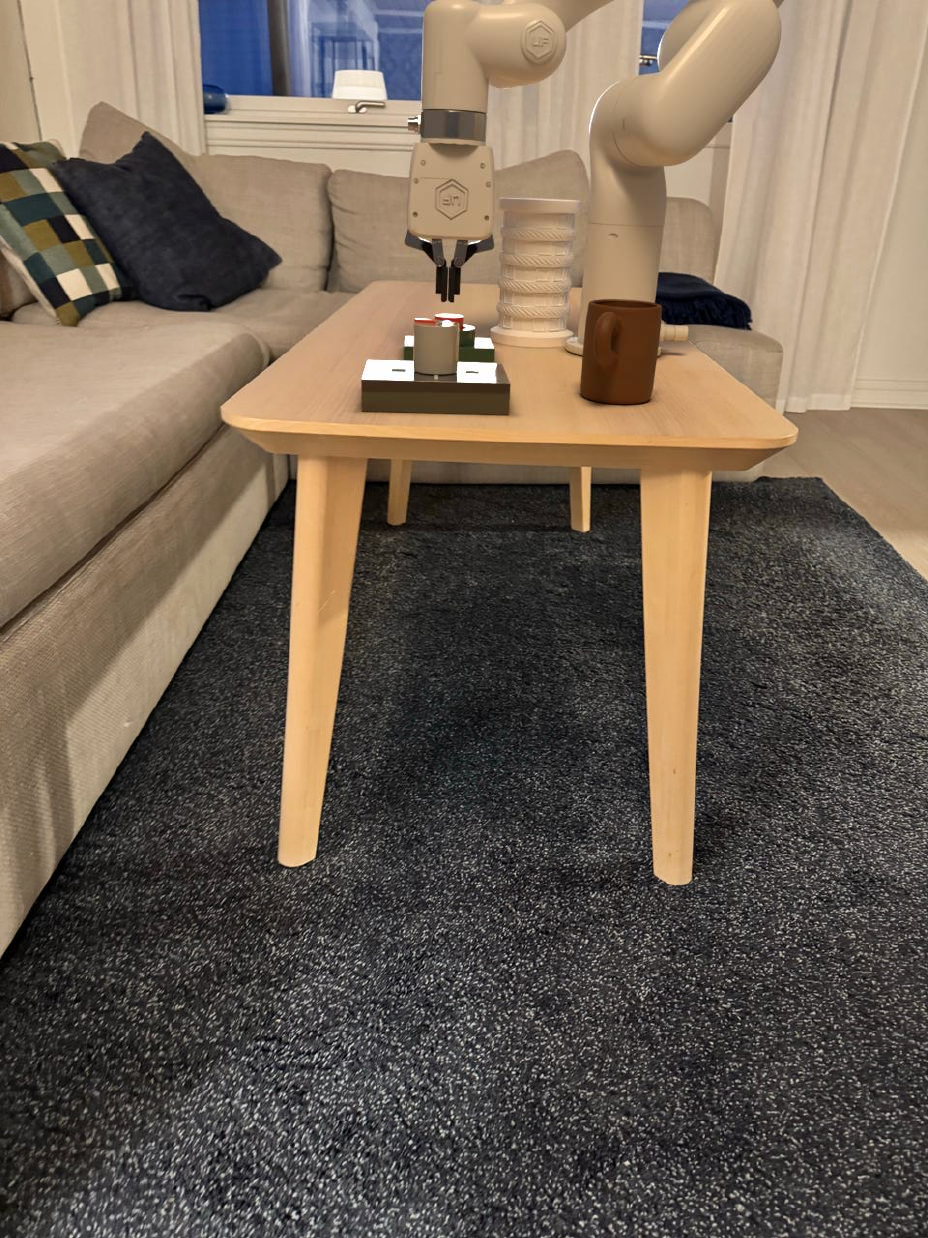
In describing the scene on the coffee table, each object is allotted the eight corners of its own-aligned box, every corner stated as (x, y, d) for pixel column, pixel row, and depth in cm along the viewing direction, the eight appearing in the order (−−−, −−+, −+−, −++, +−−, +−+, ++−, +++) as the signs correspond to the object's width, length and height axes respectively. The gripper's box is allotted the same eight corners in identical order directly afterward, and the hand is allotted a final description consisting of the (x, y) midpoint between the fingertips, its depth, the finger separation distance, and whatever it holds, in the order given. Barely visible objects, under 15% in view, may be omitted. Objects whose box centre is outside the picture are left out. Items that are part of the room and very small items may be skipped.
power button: (462, 328, 114) (463, 314, 114) (464, 332, 111) (464, 318, 110) (434, 327, 114) (434, 313, 113) (434, 332, 111) (434, 317, 110)
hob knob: (457, 366, 91) (459, 317, 89) (457, 375, 87) (459, 323, 85) (414, 365, 91) (414, 315, 89) (412, 374, 87) (412, 322, 85)
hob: (500, 392, 95) (502, 361, 94) (509, 415, 86) (510, 381, 85) (367, 389, 95) (367, 358, 93) (361, 411, 86) (361, 377, 84)
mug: (631, 418, 87) (643, 315, 83) (555, 408, 90) (563, 308, 86) (659, 395, 97) (670, 302, 93) (590, 386, 100) (599, 296, 95)
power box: (489, 351, 118) (491, 323, 116) (494, 362, 111) (495, 333, 109) (405, 349, 117) (405, 320, 116) (403, 360, 110) (404, 330, 109)
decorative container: (582, 338, 130) (594, 200, 122) (558, 350, 120) (570, 201, 113) (506, 331, 134) (513, 197, 126) (477, 342, 124) (483, 197, 116)
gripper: (386, 125, 99) (385, 302, 107) (522, 133, 100) (510, 307, 108) (388, 129, 106) (387, 294, 114) (515, 136, 107) (505, 300, 115)
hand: (447, 300), depth 111 cm, fingers closed
